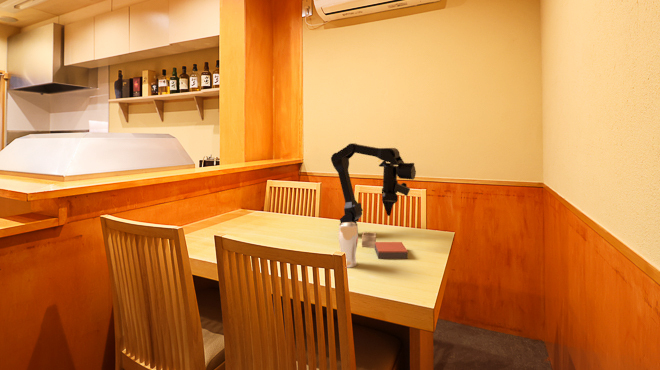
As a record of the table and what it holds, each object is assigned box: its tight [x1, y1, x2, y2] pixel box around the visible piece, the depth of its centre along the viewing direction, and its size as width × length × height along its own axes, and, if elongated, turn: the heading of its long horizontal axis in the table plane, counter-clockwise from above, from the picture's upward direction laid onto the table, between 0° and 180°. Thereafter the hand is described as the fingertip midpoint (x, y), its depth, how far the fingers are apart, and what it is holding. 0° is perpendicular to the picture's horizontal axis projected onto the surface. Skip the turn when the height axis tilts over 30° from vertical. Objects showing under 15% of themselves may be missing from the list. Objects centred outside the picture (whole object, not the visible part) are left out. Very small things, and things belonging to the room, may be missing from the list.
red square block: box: [374, 241, 409, 260], centre depth 130 cm, size 11×11×4 cm
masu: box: [361, 231, 377, 249], centre depth 141 cm, size 6×6×5 cm
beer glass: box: [338, 222, 359, 268], centre depth 118 cm, size 7×7×15 cm
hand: (388, 213), depth 143 cm, fingers open, 9 cm apart
